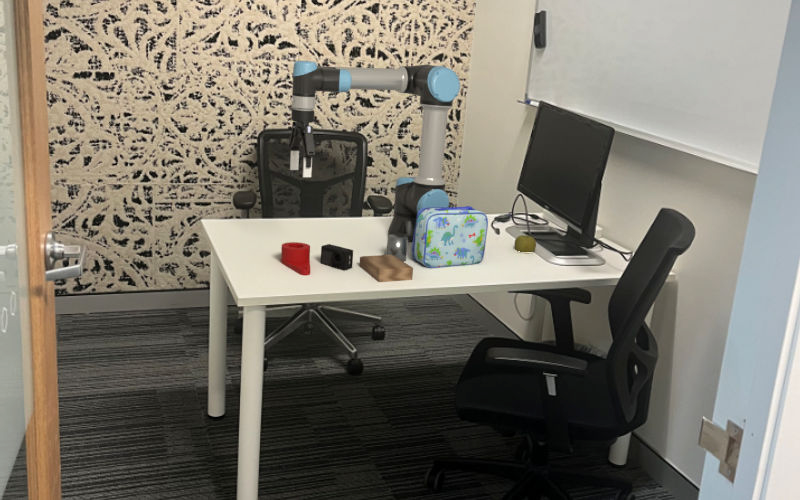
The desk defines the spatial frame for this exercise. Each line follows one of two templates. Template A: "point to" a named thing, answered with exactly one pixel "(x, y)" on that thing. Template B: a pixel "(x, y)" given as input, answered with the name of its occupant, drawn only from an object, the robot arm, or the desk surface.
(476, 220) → the lunch box
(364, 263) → the walnut riser
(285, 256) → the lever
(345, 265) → the digital camera
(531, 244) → the olive rounded block
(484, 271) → the desk surface
